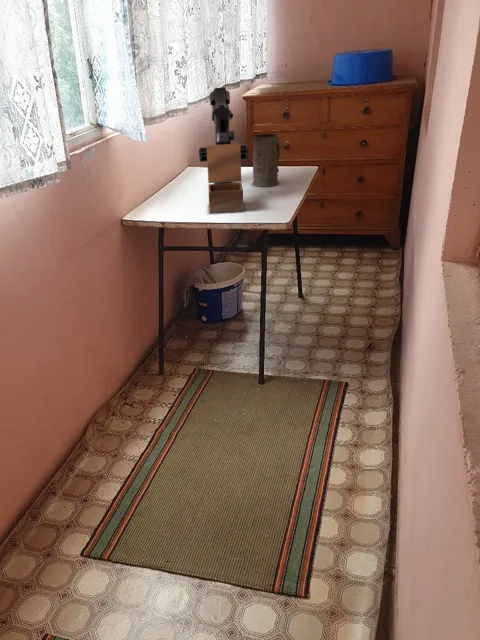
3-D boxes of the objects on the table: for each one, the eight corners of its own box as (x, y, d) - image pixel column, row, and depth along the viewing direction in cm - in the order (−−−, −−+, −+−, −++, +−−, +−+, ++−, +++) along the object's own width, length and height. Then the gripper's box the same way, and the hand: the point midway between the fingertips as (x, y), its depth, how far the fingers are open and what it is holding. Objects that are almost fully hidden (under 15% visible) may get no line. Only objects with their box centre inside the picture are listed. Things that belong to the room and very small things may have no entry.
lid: (240, 143, 225) (240, 143, 225) (206, 145, 225) (206, 145, 226) (241, 181, 230) (241, 181, 231) (208, 183, 231) (208, 183, 231)
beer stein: (270, 188, 251) (272, 136, 242) (247, 186, 256) (248, 135, 247) (286, 182, 262) (288, 132, 253) (263, 180, 267) (265, 131, 258)
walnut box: (243, 211, 224) (243, 190, 220) (209, 213, 224) (208, 192, 220) (241, 202, 234) (241, 182, 230) (209, 204, 235) (208, 184, 231)
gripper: (197, 124, 228) (199, 161, 224) (247, 121, 227) (249, 158, 223) (199, 143, 239) (200, 178, 235) (246, 140, 238) (248, 175, 234)
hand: (224, 172), depth 231 cm, fingers closed
